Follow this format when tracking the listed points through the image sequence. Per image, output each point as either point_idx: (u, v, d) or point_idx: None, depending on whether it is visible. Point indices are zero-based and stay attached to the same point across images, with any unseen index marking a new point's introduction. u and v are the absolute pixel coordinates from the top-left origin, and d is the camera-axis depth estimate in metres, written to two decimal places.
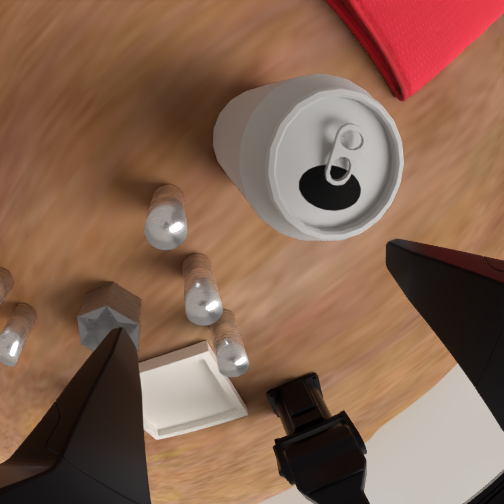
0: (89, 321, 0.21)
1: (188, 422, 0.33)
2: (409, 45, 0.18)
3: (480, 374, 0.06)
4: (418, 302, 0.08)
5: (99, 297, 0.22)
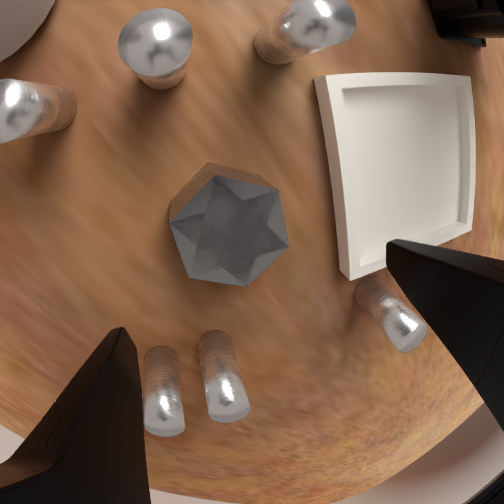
0: (199, 260, 0.14)
1: (460, 169, 0.19)
2: None
3: (481, 374, 0.06)
4: (418, 302, 0.08)
5: None
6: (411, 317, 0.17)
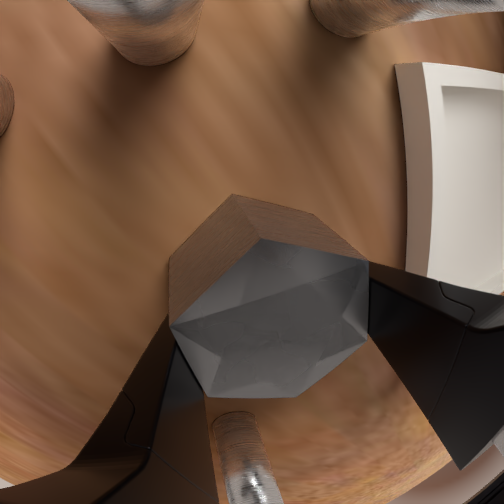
0: (225, 375, 0.08)
1: None
2: None
3: (433, 409, 0.06)
4: (368, 326, 0.08)
5: None
6: None
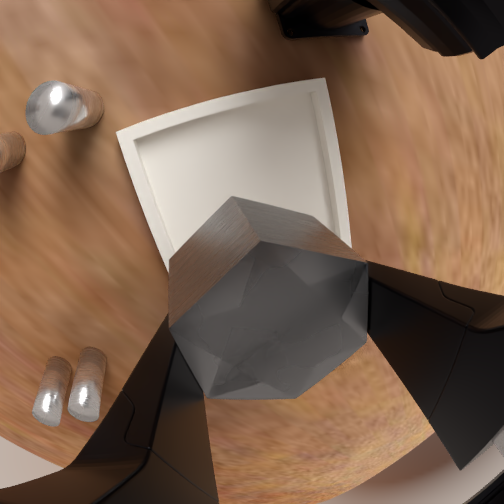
0: (225, 376, 0.08)
1: (325, 187, 0.20)
2: None
3: (433, 409, 0.06)
4: (368, 326, 0.08)
5: None
6: None
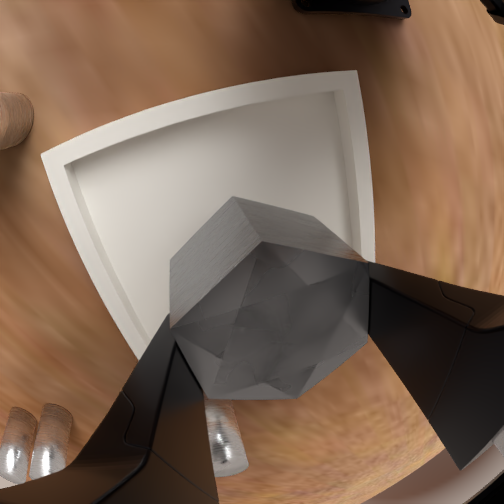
0: (226, 377, 0.08)
1: (347, 229, 0.14)
2: None
3: (433, 409, 0.06)
4: (368, 326, 0.08)
5: None
6: (219, 447, 0.12)
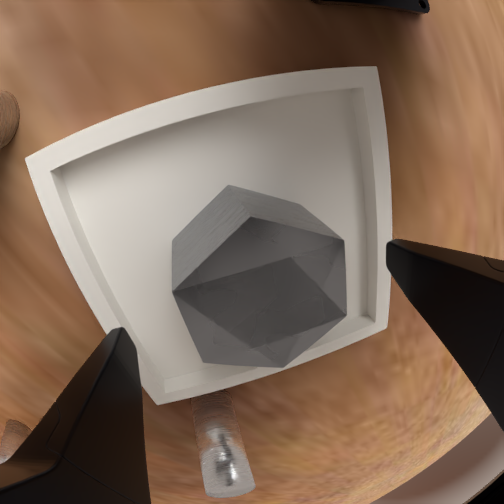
0: (219, 341, 0.09)
1: (362, 239, 0.13)
2: None
3: (481, 375, 0.06)
4: (418, 302, 0.08)
5: None
6: (224, 470, 0.11)
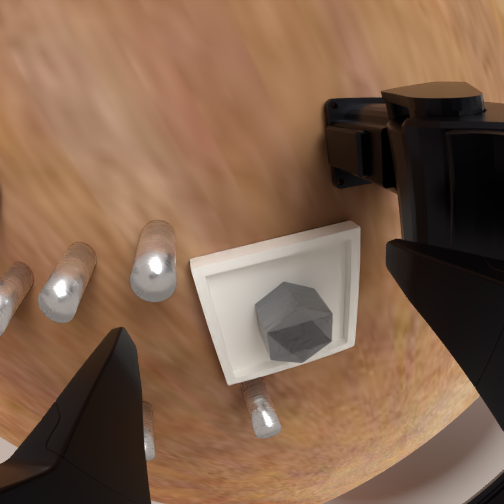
0: (279, 351, 0.22)
1: (342, 302, 0.26)
2: None
3: (481, 374, 0.06)
4: (418, 302, 0.08)
5: (262, 328, 0.22)
6: (267, 418, 0.24)
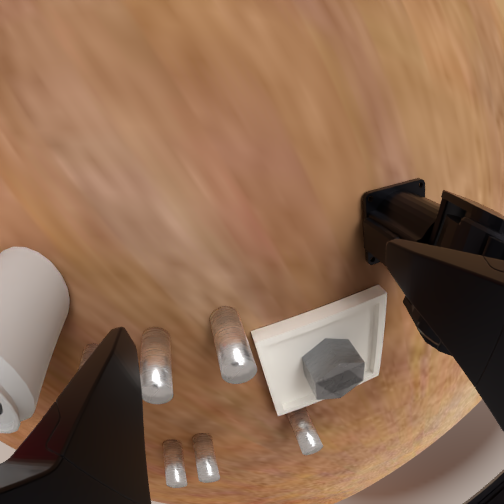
0: (323, 393, 0.26)
1: (370, 344, 0.30)
2: None
3: (481, 374, 0.06)
4: (418, 302, 0.08)
5: (309, 376, 0.27)
6: (311, 440, 0.28)
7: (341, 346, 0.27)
